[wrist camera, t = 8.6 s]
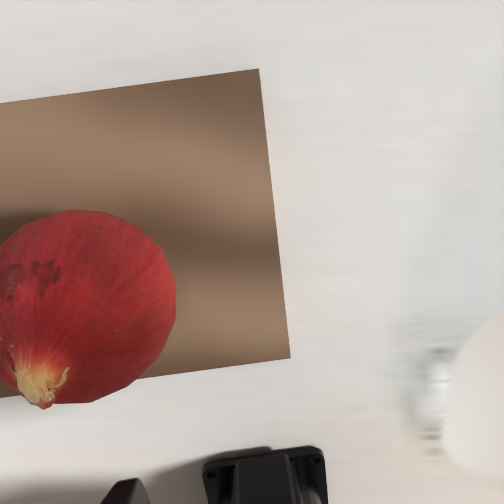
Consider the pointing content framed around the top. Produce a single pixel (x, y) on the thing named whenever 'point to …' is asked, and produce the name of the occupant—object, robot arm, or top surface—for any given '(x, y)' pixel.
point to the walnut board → (165, 200)
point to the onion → (81, 307)
